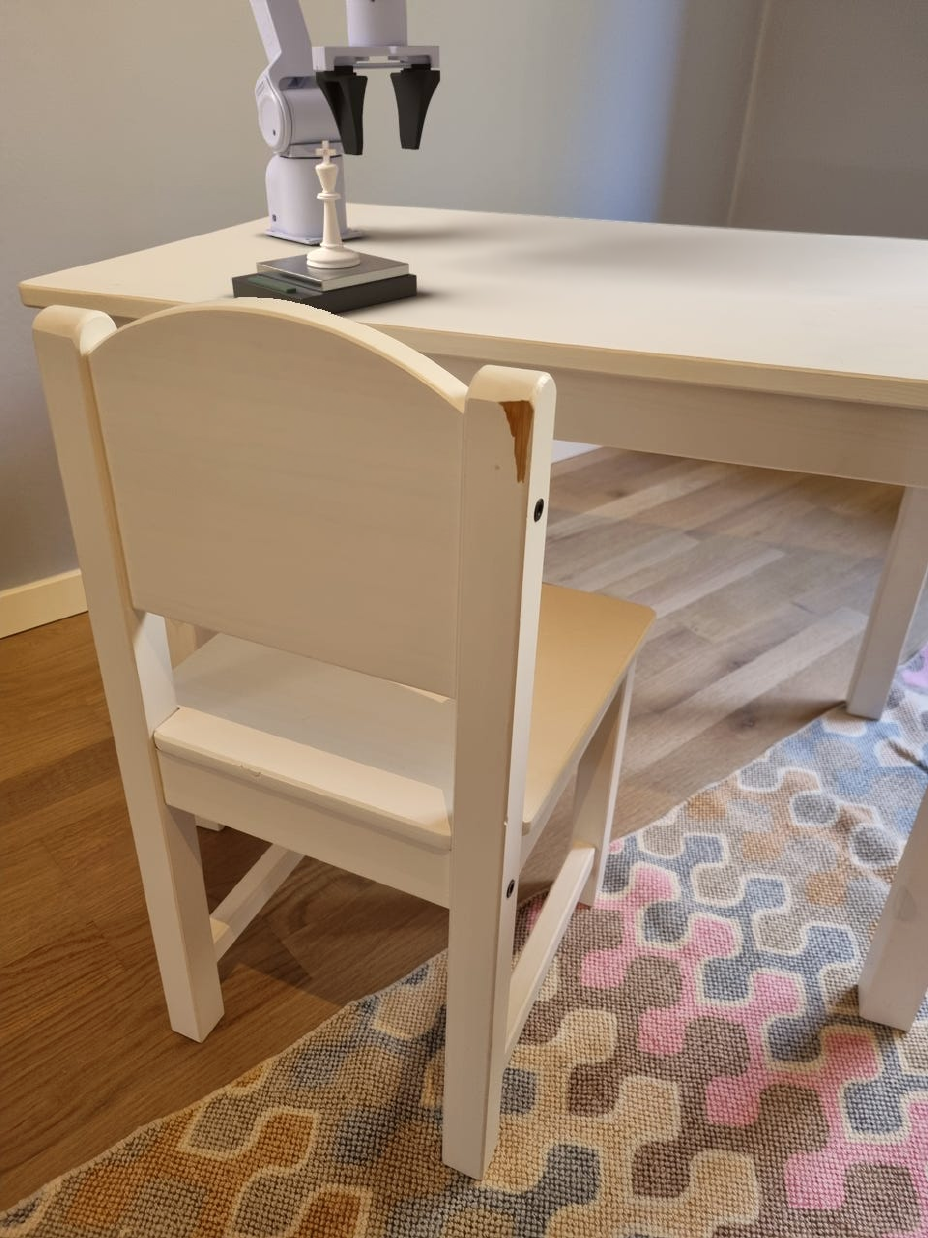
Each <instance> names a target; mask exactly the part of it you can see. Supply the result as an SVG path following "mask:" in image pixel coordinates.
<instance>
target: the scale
mask: <svg viewBox="0 0 928 1238" xmlns="http://www.w3.org/2000/svg"><path fill="white" fill-rule="evenodd" d="M230 279H231V287H232V293H233V298H235V299H237V298H236V297H257V298H273V299H281V300H287V301H292V302H295V303H300V304H305V305H309V306H312V307H314V308H317V309H322V310H325V311H328V312H331V313H333V314H337V313H342V312H346V311H351V310H355V309H361V308H364V307H368V306H373V305H377V304H383V303H386V302H391V301H396V300H400V299H404V298H408V297H414V296H417V295H418V277H417V274H414V273H410V272H409V275H405V276H400V277H395V278H390V279H385V280H381V281H376V282H371V283H366V284H361V285H356V286H351V287H347V288H342V289H337V290H332V291H327V292H320V291H316V290H313V289H309V288H306V287H302V286H299V285H295V284H292V283H288V282H284V281H281V280H277V279H274V278H270V277H267V276H263V275H260V274H258V273H257V272H254V273H250V274H244V275H239V276H232V277H231V278H230Z"/></svg>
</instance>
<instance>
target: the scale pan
mask: <svg viewBox="0 0 928 1238" xmlns="http://www.w3.org/2000/svg"><path fill="white" fill-rule="evenodd" d="M356 252H357V253H359V259H360V261H361V262H360V264H358V265H356V266H352V267H347V268H334V269H328V268H316V267H312V266H309V265H308V264H307V261H308V259H307V255H308V254H309V253H306V254H301V255H300V254H299V255H293V256H289V257H288V256H287V257H282V258H277V259H271V260H265V261H260V262H256V264H255V265H256V273H258V274H260V275H263V276H267V277H270V278H274V279H277V280H281V281H284V282H288V283H292V284H295V285H299V286H302V287H306V288H309V289H313V290H316V291H320V292H327V291H332V290H337V289H342V288H347V287H351V286H356V285H361V284H366V283H371V282H376V281H381V280H385V279H390V278H395V277H400V276H405V275H409V273H410V265H409V263H408V262H402V261H400V260H394V259H390V258H385V257H381V256H377V255H373V254H370V253H369V254H368V253H363V252H361V251H360V252H359V251H356Z"/></svg>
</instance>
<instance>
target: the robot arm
mask: <svg viewBox="0 0 928 1238" xmlns="http://www.w3.org/2000/svg"><path fill="white" fill-rule="evenodd" d="M248 1H249V4H250V7H251V10H252V14H253V18H254V21H255V24H256V26H257V29H258V32H259V36H260V39H261V43H262V45H263V48H264V52H265V55H266V58H267V62H268V65H267V66H266V68H265V69H264V70H262V72H261V73H260V75H259V77H258V79H257V81H256V83H255V88H254V96H255V101H256V105H257V111H258V124H259V129H260V132H261V135H262V138H263V140H264V141H265V143H266V145H267V146H268V147H269V149H271V151H272V153H273V155H274V156H273V157H272V158H271V159H270V160H269V162H268V164H267V165H266V166H267V167H266V169H265V176H264V177H265V179H264V180H265V181H264V183H265V191H266V199H267V200H266V201H267V210H268V220H269V229H264V235H267V236H271V237H276V238H280V239H284V240H288V241H293V242H297V243H302V244H305V245H317V244H320V243H322V242H323V230H324V200H320V199H318V198H317V197H318V194H319V193H324V192H322V191H323V188H322V185H321V183H320V179H319V177H318V174H317V172H316V166H317V165H319V164H322V163H324V161H323V155H316V149H323V147H322V141H329V149H336V155H330V162H331V163H332V164H336V165H337V166H338V167H339V170H338V174H337V178H336V184H335V188H334V190H335V193H339V194H340V196H341V198H340V199H337V200H335V207H336V214H337V219H338V225H339V231H340V236H341V240H347V239H353V238H359V237H363V236H364V233H363V231H360V230H356V229H350V228H348V219H347V204H346V202H347V201H346V186H345V168H344V155H347V156H348V155H349V156H356V157H357V156H363V151H364V106H365V105H364V104H365V97H366V91H367V86H368V81H369V77H368V76H367V75H358V73H357V72H356V71H355V70H388V69H392V70H393V69H400V70H399V71H400V72H399V71H395V72H393V71H392V72H390V74H389V77H390V80H391V84H392V87H393V91H394V95H395V100H396V106H397V115H398V130H399V141H400V145H401V149H402V150H412V151H418V150H420V146H421V140H422V136H423V131H424V126H425V121H426V117H427V114H428V111H429V107H430V104H431V101H432V99H433V96H434V94H435V92H436V90H437V87H438V86H439V84H440V82H441V70H440V46H439V45H408V19H407V18H408V17H407V16H408V15H407V14H408V13H407V0H345V8H346V10H345V11H346V22H347V23H346V25H347V41H348V43H347V44H348V45H343V46H342V45H341V46H340V45H336V46H335V45H334V46H333V45H330V46H328V45H327V46H326V45H325V46H313V44H312V41H311V37H310V33H309V30H308V27H307V24H306V21H305V18H304V15H303V12H302V8H301V5H300V1H299V0H248ZM370 57H387V60H388V61H397V62H369V61H370ZM398 61H399V62H398ZM438 68H439V69H438Z"/></svg>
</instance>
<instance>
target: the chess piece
mask: <svg viewBox="0 0 928 1238" xmlns="http://www.w3.org/2000/svg"><path fill="white" fill-rule="evenodd" d="M322 147H323V149H316V155H323V161H324V163H322V164H319V165H317V166H316V172H317V174H318V177H319V179H320V183H321V185H322V188H323V191H322V192H324V193H319V194H318V197H317V198H318V199H320V200H324V230H323V242H322V243H319V246H320V248H317V249H314V250H312V251H310V252H309V253H307V254H308V255H307V259H308V261H307V264H308V265H309V266H312V267H316V268H328V269H334V268H347V267H352V266H356V265H358V264H360V262H361V261H360V259H359V253H357V252H358V251H356V250H354V249H351V248H347V247H345V245H346V243H345V242H344V241H342V240H343V239H342V240H341V236H340V231H339V225H338V219H337V214H336V207H335V200H337V199H340V198H341V196H340V194H339V193H335V190H334V188H335V184H336V178H337V174H338V170H339V167H338V166H337V165H336V164H332V163H331V162H330V155H336V149H329V141H322Z"/></svg>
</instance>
